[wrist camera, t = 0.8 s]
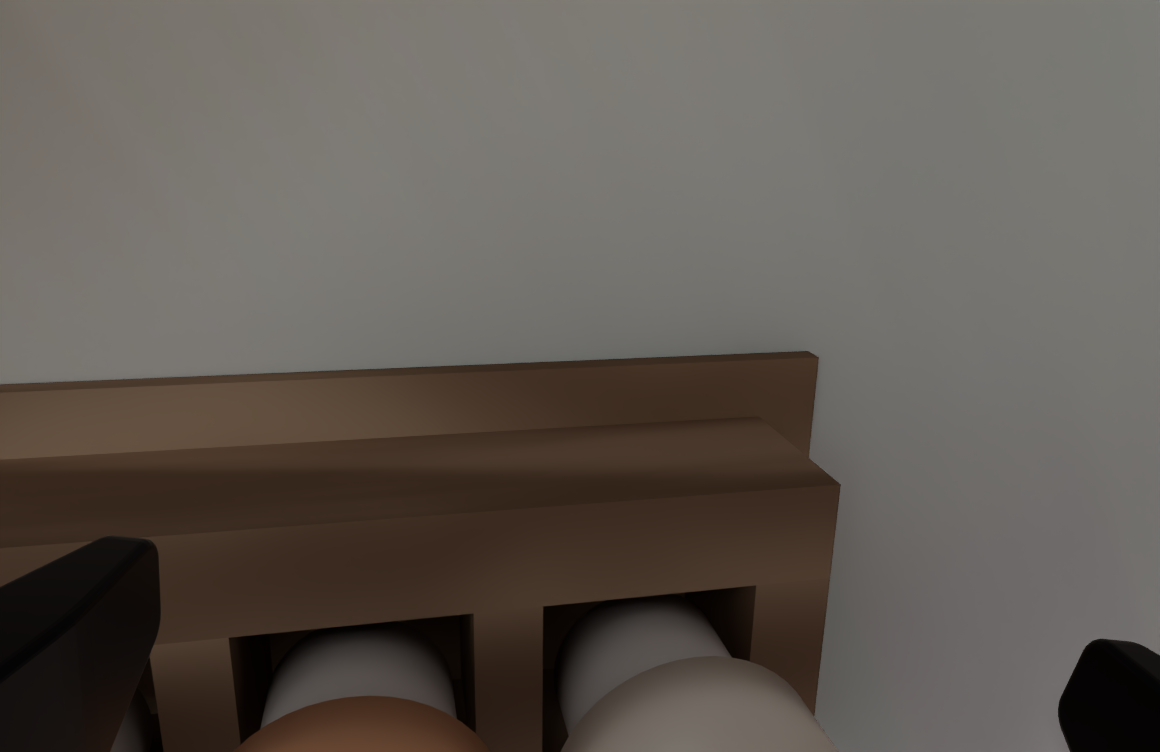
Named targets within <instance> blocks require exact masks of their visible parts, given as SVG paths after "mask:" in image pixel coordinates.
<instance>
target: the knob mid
mask: <svg viewBox="0 0 1160 752" xmlns="http://www.w3.org/2000/svg"><path fill="white" fill-rule="evenodd" d="M233 752H490V750H489V749H488V747H487V746H486V744H485V743H484V742H483V741H482V740H481V739H480V738H479V737H478V736H477V735H476V733H475V732H473V731H472V730H471V729H470V728H468V727H467V726H466V725H465V724H463V723H462V722H461V721H459V720H457V716H456V707H455V699H454V690H453V682H452V675H451V671H450V668H449V665H448V663H447V661H446V658H445V657H444V655H443V654H442V652H441V651H440V649H439V648H438V647H437V646H436V645H435V644H434V642H433V641H432V640H430V639H429V638H428V637H427V636H426V635H424V634H423V633H421V632H420V631H418V630H416V629H415V628H413V627H410V626H408V625H406V624H403V623H400V622H397V621H392V622H382V623H371V624H361V625H351V626H341V627H331V628H321V629H317V630H315V631H313V632H311V633H309V634H308V635H307V636H305V637H304V638H302V639H301V640H299V641H298V642H297V643H296V644H295V645H294V646H293V647H291V648H290V649H289V651H288V652H287V653H286V654H285V655H284V656H283V658H282V659H281V661H280V662H279V664H278V665H277V667H276V669H275V671H274V673H273V675H272V677H271V681H270V684H269V687H268V692H267V697H266V702H265V707H264V712H263V717H262V722H261V727H260V730H259V731H257V732H256V733H254V734H253V735H251V736H250V737H249V738H248V739H247V740H245V741H244V742H243V743H242V744H241V745H240V746H239V747H237V748H236V749H235V750H234V751H233Z"/></svg>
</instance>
